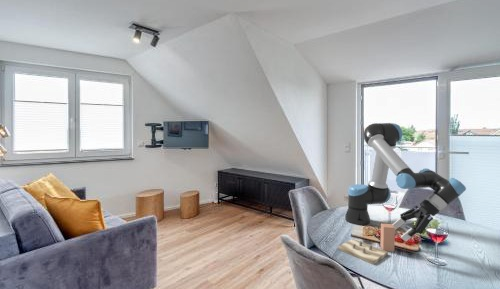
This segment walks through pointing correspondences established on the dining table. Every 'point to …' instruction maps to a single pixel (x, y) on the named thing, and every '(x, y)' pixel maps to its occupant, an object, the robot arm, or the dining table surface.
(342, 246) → the base plate
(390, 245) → the block
